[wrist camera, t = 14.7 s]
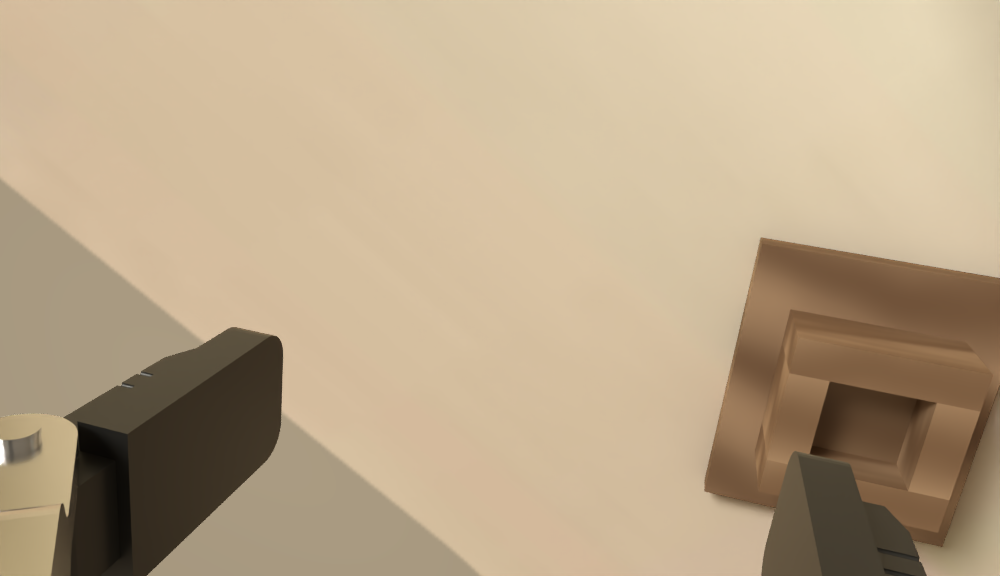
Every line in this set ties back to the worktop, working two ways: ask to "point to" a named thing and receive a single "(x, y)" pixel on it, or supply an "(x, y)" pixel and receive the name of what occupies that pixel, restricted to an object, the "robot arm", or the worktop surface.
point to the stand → (860, 380)
